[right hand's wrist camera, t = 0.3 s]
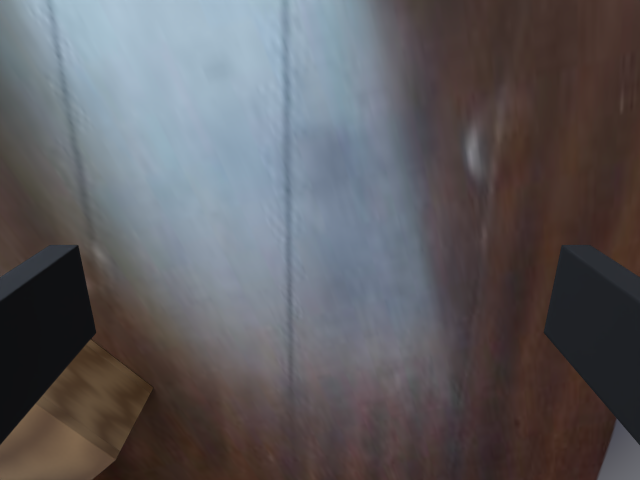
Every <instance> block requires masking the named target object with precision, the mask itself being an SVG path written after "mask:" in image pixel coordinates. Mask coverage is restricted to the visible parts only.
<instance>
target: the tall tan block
mask: <svg viewBox="0 0 640 480" xmlns="http://www.w3.org/2000/svg"><path fill="white" fill-rule="evenodd" d="M152 390H153V387H152V386H151V385H149V384H148V383H147V382H145V381H144V380H143V379H141V378H140V377H139V376H138V375H136V374H135V373H134V372H132V371H131V370H130V369H128V368H127V367H126V366H125V365H123V364H122V363H121V362H119V361H118V360H117V359H115V358H114V357H113V356H112V355H110V354H109V353H108V352H106V351H105V350H104V349H102V348H101V347H100V346H99V345H97V344H96V343H95V342H93V341H92V340H91V339H90V341H89V342H88V343H87V344H86V345H85V346H84V348H83V349H82V350H81V351H80V352H79V353H78V355H77V356H76V357H75V358H74V359H73V360H72V362H71V363H70V364H69V365H68V366H67V367H66V369H65V370H64V371H63V372H62V373H61V375H60V376H59V377H58V378H57V379H56V380H55V382H54V383H53V384H52V385H51V386H50V387H49V389H48V390H47V391H46V392H45V393H44V394H43V396H42V397H41V398H40V399H39V400H38V401H37V403H36V404H35V405H34V406H33V407H32V408H31V410H30V411H29V412H28V413H27V414H26V416H25V417H24V418H23V419H22V420H21V421H20V423H19V424H18V425H17V426H16V427H15V428H14V430H13V431H12V432H11V433H10V434H9V435H8V437H7V438H6V439H5V440H4V441H3V442H2V444H1V445H0V480H92V479H93V478H95V477H96V476H97V475H98V474H99V473H101V472H102V471H103V470H104V469H105V468H107V467H108V466H109V465H110V464H111V463H113V462H114V461H115V460H116V458H117V456H118V455H119V453H120V450H121V449H122V447H123V445H124V443H125V441H126V439H127V437H128V435H129V433H130V431H131V430H132V428H133V426H134V424H135V422H136V420H137V418H138V416H139V414H140V412H141V411H142V409H143V407H144V405H145V403H146V401H147V399H148V397H149V395H150V393H151V392H152Z"/></svg>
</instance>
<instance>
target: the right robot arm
mask: <svg viewBox="0 0 640 480" xmlns="http://www.w3.org/2000/svg"><path fill="white" fill-rule="evenodd" d="M95 334H96V329H95V325H94V320H93V315H92V310H91V305H90V300H89V295H88V290H87V286H86V281H85V276H84V271H83V266H82V261H81V256H80V251H79V247H78V245H49V246H48V247H46V248H45V249H43V250H42V251H40V252H39V253H37V254H36V255H34V256H32V257H31V258H29V259H28V260H26V261H25V262H23V263H22V264H20V265H19V266H17V267H15V268H14V269H12V270H11V271H9V272H8V273H6V274H5V275H3V276H2V277H0V445H1V444H2V442H3V441H4V440H5V439H6V438H7V437H8V435H9V434H10V433H11V432H12V431H13V430H14V428H15V427H16V426H17V425H18V424H19V423H20V421H21V420H22V419H23V418H24V417H25V416H26V414H27V413H28V412H29V411H30V410H31V408H32V407H33V406H34V405H35V404H36V403H37V401H38V400H39V399H40V398H41V397H42V396H43V394H44V393H45V392H46V391H47V390H48V389H49V387H50V386H51V385H52V384H53V383H54V382H55V380H56V379H57V378H58V377H59V376H60V375H61V373H62V372H63V371H64V370H65V369H66V367H67V366H68V365H69V364H70V363H71V362H72V360H73V359H74V358H75V357H76V356H77V355H78V353H79V352H80V351H81V350H82V349H83V348H84V346H85V345H86V344H87V343H88V342H89V341H90V339H91V338H92V337H93V336H94V335H95ZM544 334H545V335H546V336H547V337H548V338H549V339H550V341H551V342H552V343H553V344H554V345H555V346H556V348H557V349H558V350H559V351H560V352H561V353H562V355H563V356H564V357H565V358H566V359H567V360H568V362H569V363H570V364H571V365H572V366H573V367H574V369H575V370H576V371H577V372H578V373H579V375H580V376H581V377H582V378H583V379H584V380H585V382H586V383H587V384H588V385H589V386H590V387H591V389H592V390H593V391H594V392H595V393H596V394H597V396H598V397H599V398H600V399H601V400H602V401H603V403H604V404H605V405H606V406H607V407H608V408H609V410H610V411H611V412H612V413H613V414H614V416H615V417H616V418H617V419H618V420H619V421H620V423H621V424H622V425H623V426H624V427H625V428H626V430H627V431H628V432H629V433H630V434H631V435H632V437H633V438H634V439H635V440H636V441H637V442H638V444H639V445H640V277H638V276H637V275H635V274H634V273H632V272H631V271H629V270H628V269H626V268H625V267H623V266H621V265H620V264H618V263H617V262H615V261H614V260H612V259H611V258H609V257H608V256H606V255H604V254H603V253H601V252H600V251H598V250H597V249H595V248H594V247H592V246H591V245H562V247H561V251H560V256H559V261H558V266H557V271H556V276H555V281H554V286H553V290H552V295H551V300H550V305H549V310H548V315H547V320H546V324H545V329H544Z"/></svg>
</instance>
